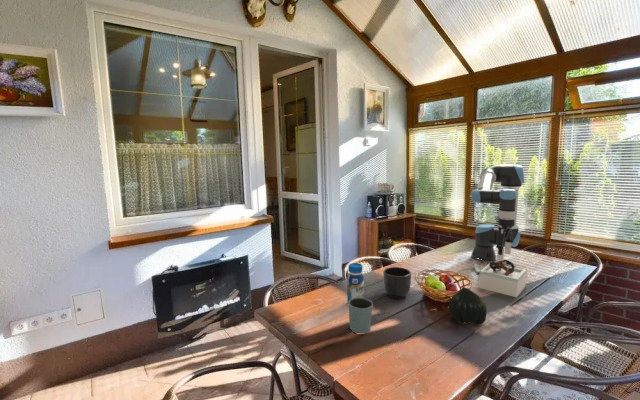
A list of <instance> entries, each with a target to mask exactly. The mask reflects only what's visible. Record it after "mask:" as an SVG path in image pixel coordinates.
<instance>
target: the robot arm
mask: <svg viewBox="0 0 640 400" xmlns="http://www.w3.org/2000/svg"><path fill="white" fill-rule="evenodd" d="M524 172H525V171H524V166H522V165H520V164H494V165H491V166H489V167H488V166H487V167H486V168H484V170H482V171H481V172H480V174H479V183H478V186H477V189H472V191H471V194H470V199H471V202H472V203H475V204H494V205H498V210H497V213H498V218H497V225H498V226H497V227H496V226H495V225H494V224H490V223H489V224H488V223H487V224H486V223H485V224H479V225H477V226H476V227H475V231H474V233H475V235H474V239H475V240H474V247H473V249H472V251H471V258H473V259H474V258H479V259H482V260H489V261H488V262H494V261H495V260H497V261H503V259H505V258H504V255H505V254H506V255H511V253H512V252H511V251H512V247H517V246H519V243H520V238H521V234H522V233H521V232H522V230H521V229H520V227H519V225H518V224H517V219H518V218H517V216H518V215H517V214H518V202H519V189H520V188H521V187H522V186H523V184H525V173H524ZM494 183H498V184H500V186H501V189H500V190H497V189H496V190H493V187H494V186H493V185H494ZM495 245H496V246H495ZM494 246H495V248H497V255H496V253H495V248H494ZM482 260H481V261H482Z"/></svg>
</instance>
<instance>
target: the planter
mask: <svg viewBox="0 0 640 400" xmlns="http://www.w3.org/2000/svg"><path fill="white" fill-rule="evenodd" d="M411 282H412V272H411V271H410V269H408V268H404V267H399V266H393V267H392V266H391V267H387V268H386V267H385V269H383V287H384V290H385V292H386V293H387V294H388V296H389V295H390V296H389V297H391V298H392V297H393V299H398V298H399V299H403V298H405V297H406V296H407V295H408V294H409V292H410V290H411V285H412V284H411Z"/></svg>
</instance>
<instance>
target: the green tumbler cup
mask: <svg viewBox="0 0 640 400" xmlns="http://www.w3.org/2000/svg"><path fill="white" fill-rule="evenodd" d="M348 304H349V305H348ZM347 305H348V319H349V330H350V329H351V330H352V331H353V332H356V333H367V332H369V333H370V331H371V324H372V315H373V313H372V312H373V306H374V304H373V301H372V300H370V299H368V298H366V297H364V298H361V297H357V298H352V299H350V300H349V302H348V303H347ZM351 330H350V331H351ZM353 332H352V333H353ZM367 334H368V333H367Z"/></svg>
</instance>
